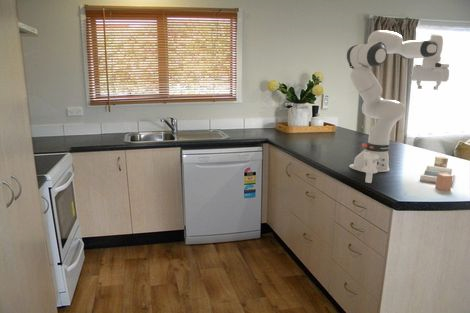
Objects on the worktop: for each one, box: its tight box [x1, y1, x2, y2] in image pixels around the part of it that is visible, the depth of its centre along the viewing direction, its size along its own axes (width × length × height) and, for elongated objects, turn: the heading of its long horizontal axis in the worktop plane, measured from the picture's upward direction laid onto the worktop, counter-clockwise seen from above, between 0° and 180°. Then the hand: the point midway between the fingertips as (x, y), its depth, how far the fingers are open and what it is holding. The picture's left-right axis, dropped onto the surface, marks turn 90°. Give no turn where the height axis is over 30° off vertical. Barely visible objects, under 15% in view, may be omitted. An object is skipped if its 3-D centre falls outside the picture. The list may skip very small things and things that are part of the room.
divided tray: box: [419, 164, 455, 187], centre depth 186 cm, size 25×14×3 cm, turn 147°
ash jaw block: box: [433, 156, 449, 168], centre depth 202 cm, size 4×4×7 cm
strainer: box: [362, 152, 379, 184], centre depth 175 cm, size 7×7×15 cm
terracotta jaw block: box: [434, 173, 454, 191], centre depth 167 cm, size 4×4×7 cm
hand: (427, 89), depth 204 cm, fingers open, 8 cm apart
